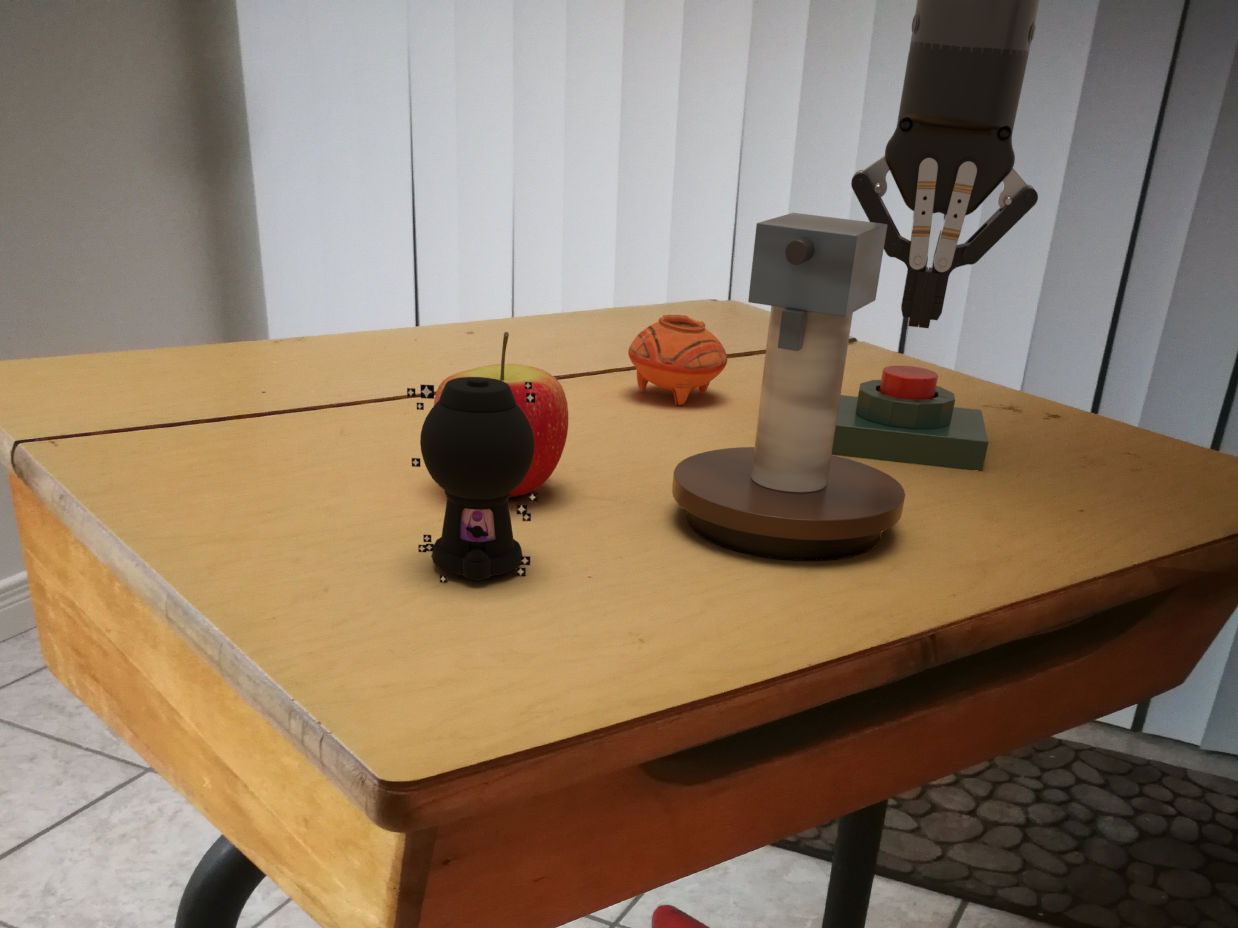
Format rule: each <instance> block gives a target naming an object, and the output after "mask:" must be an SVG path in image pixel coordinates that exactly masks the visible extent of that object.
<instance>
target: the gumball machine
mask: <svg viewBox="0 0 1238 928" xmlns="http://www.w3.org/2000/svg"><path fill="white" fill-rule="evenodd" d="M419 387H420V399H426V400H427V399H430V400H435V385H434V384H420V386H419ZM525 389H532V382H525ZM406 395H407V397H408V398H410V397H411V398H416V388H415V387H414V388H413V387H412V388H411V387H407V388H406ZM535 395H536V393H526V402H531V403H535ZM416 410H417V411H418V410H419V411H424V410H425V404H424V402H416ZM419 445H420V453H421V457H422V459H423V462H424V464H425V467H426V470H427V472H428V474H429V476H430V477H431V479H432V480H433V481H434V482H435V483H436V484H437V485H438V486H439V487H440V488H441V489H442V490H443V491H444V494H445V497H446V504H445V509H444V517H443V522H442V531H441V536H440V537H439V538H437V539H436V540H435V542H434V543H432V534H422V535H423V536H422V537H423V540H422V541H423V543H425V544H417V545H418V546H417V547H418V548H417V550H418V553H427V552H431V559H432V562H433V564H434V565H435V566H437V567H438V568H439V569H441V570H443V571H446V572H448V573H451V574H456V575H460V576H463V577H464V578H466V579H469V580H477V581H478V580H480V581H481V580H487V579H488V578H490V577H492V576H493V577H494V576H499V575H500V576H501V575H504V574H507V573H510V572H513V571H515V570H516V577H526V575H527V567H521V566H531V555H530V556H529V555H528V556H527V555H525V556H524V555H523V550H522V546H521V544H520V542H518V541H517V540H516V539H515V538H514V533H513V526H512V519H511V513H510V512H511V511H510V505H509V499H510V497H509V496H510V492H511V491H513V490H514V489H515V488H516V487H517V486H518V485H519V484H520V483H521V482H522V481H523V479H524V478H525V476H526V474H527V472H528V470H529V468H530V466H531V464H532V460H533V456H534V448H535V445H534V436H533V431H532V428H531V425H530V423H529V421H528V419H527V417H526V416H525V414H524V412H523V411H522V409H521V408H520V407H519V406H518V405H517V403H516V401H515V398H514V396H513V393H512V391H511V388H510V386H509V385H508V384H507V383H505V382H504V381H501V380H497V379H492V378H485V377H461V378H456V379H452V380H449V381H448V382H447V383H446V384H445V386H444V389H443V391H442V393H441V396H440V398H439V401H438V402H437V403H436V404H435V405H434V404H433V407H432V408H431V409H430V410H429V411H428V414H427V415H426V416H425V419H424V421H423V423H422V427H421V431H420V440H419ZM421 466H422V465H421V458H420V457H411V467H413V468H414V467H415V468H419V467H420V468H421ZM528 502H533V503H534V502H538V492H529V493H528ZM516 515H522V522H532V513H531V512H528V504H527V503H526V504H525V503H518V504H516ZM439 583H444V584H445V583H448V575H441V574H440V575H439Z"/></svg>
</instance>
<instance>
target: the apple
mask: <svg viewBox="0 0 1238 928" xmlns="http://www.w3.org/2000/svg"><path fill="white" fill-rule="evenodd" d="M509 335H510V334H509V331H505V332H503V339H502V347H501V348H502V350H501V358H500V359H501V363H498V364H490V365H484V366H480V367H475V368H470V369H467V370H462V371H459V372H456V373H454V374H450V375H449V376H447V377H446V378H445V379H443V380H442V381H441V382H440V384H439V386H438V387H437V390H436V393H435V395H434V399H433V400H434V402H433V406H434V405H435V404H436V403H437V402H438V401H439V398H440V396H441V393H442V391H443V389H444V386H445V384H446V383H447V382H448V381H449V380H452V379H456V378H461V377H485V378H492V379H497V380H501V381H504V382H505V383H507V384H508V385H509V386H510V388H511V391H512V393H513V396H514V398H515V401H516V403H517V405H518V406H519V407H520V408H521V409H522V411H523V412H524V414H525V416H526V417H527V419H528V421H529V423H530V425H531V428H532V431H533V436H534V445H535V448H534V456H533V460H532V464H531V466H530V468H529V470H528V472H527V474H526V476H525V478H524V479H523V481H522V482H521V483H520V484H519V485H518V486H517V487H516V488H515V489H514V490H513V491H511V492H510V496H509V498H514V497H519V496H523V495H526V494H529V493H532V492H534V491H535V490H538V489H539V488H540V487H542V486H543V485H544V484H545V483H546V482H547V481H548V480H549V479H550V477H551V476H552V474H553V473H554V472H555V470H556V468H557V466H558V464H559V462H560V460H561V458H562V454H563V452H564V449H565V446H566V442H567V438H568V431H569V408H568V407H569V406H568V400H567V396H566V393H565V390H564V387H563V386H562V384H561V382H560V381H559V380H558V379H557V377H555V376H554V375H552V374H551V373H550V372H548V371H547V370H544V369H541V368H539V367H535V366H532V365H527V364H519V363H505V362H506V352H507V346H508V342H509V341H508V340H509ZM525 382H532V389H525ZM526 393H536V395H535V403H531V402H526Z"/></svg>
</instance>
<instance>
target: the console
mask: <svg viewBox="0 0 1238 928" xmlns="http://www.w3.org/2000/svg"><path fill="white" fill-rule="evenodd" d="M880 383H881V379H871V380H867V381H864V382H861V383H859V387H858V392H857V393H858V394H857V396H852V395H843V394H841V395H840V402H839V408H838V415H837V422H836V428H835V435H834V441H833V448H832V455H834V456H838V457H847V458H848V457H849V458H856V459H857V458H858V459H865V460H866V459H867V460H875V461H884V462H894V463H902V464H910V465H911V464H912V465H919V466H920V465H921V466H931V467H938V468H947V469H956V470H964V469H966V470H965V471H973V470H978V471H977V472H983V469H984V465H985V461H986V456H987V451H988V447H989V438H988V433H987V429H986V424H985V420H984V416H983V411H982V409H976V408H967V407H957V406H955V403H956V397H955V393H954V392H952V391H950V390H948V389H946V388H944V387H942V386H939V385H936V390H935V396H934V398H933V399H918V400H914V399H905V398H897V397H893V396H889V395H885V394H882V393H880V392H879V389H880Z"/></svg>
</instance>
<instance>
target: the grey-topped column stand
mask: <svg viewBox="0 0 1238 928" xmlns="http://www.w3.org/2000/svg"><path fill="white" fill-rule="evenodd" d="M886 231H887V224H882V223H873V222H870V221H865V220H855V219H848V218H842V217H841V218H840V217H832V216H830V217H829V216H823V215H817V214H816V215H813V214H809V213H808V214H807V213H798V212H790V213H787V214H783V215H780V216H777V217H774V218H770V219H766V220H763V221H759V222H756V226H755V235H754V245H753V253H752V263H751V273H750V280H749V291H748V300H747V301H748V303H750V304H755V305H756V304H757V305H764V306H769V307H770V313H769V319H768V321H769V322H768V330H767V339H766V347H765V356H764V363H763V372H762V381H761V388H760V398H759V406H758V415H757V424H756V432H755V440H754V446H743V447H742V446H741V447H727V448H719V449H713V450H708V451H703V452H700V453H696V454H693V455H690V456H688V457H686V458H684V459H683V460H681V461H680V462H679V463H677V465H676V466H675V467H674V469H673V474H672V475H673V476H672V487H671V492H672V497H673V499H674V501H675V502H676V503H677V504H678V505H679V506H680V507H681V508H682V509H684V510H685V511H686V512H687V511H688V512H690V513H691V514H693V515H695V516H697V517H699V518H701V519H704V520H706V521H708V522H711V523H714V524H717V525H720V526H723V527H726V528H730V529H733V530H737V531H742V532H746V533H751V534H756V535H761V536H768V537H775V538H785V539H796V540H842V539H851V538H858V537H864V536H869V535H873V534H877V533H880V532H886V531H887V530H889V529H891V528H893V527H894V526H895V525H896V524H898V523H899V522H900V521H901V519H902V515H903V510H904V505H905V499H906V492H905V489H904V487H903V486H902V484H901V483H900V482H899V481H898V480H896V479H895V478H894V477H892V476H891V475H890V474H888V473H885V472H884V471H882V470H880V469H878V468H876V467H873V466H871V465H868V464H865V463H863V462H860V461H857V460H853V459H850V458H847V457H846V458H845V457H843V456H839V455H832V448H833V441H834V435H835V428H836V422H837V415H838V408H839V402H840V395H842V387H843V381H844V374H845V369H846V361H847V355H848V348H849V342H850V334H851V328H852V322H853V315H854V312H856V311H858V310H861V309H862V308H864V307H866V306H868V305H870V304H871V303H874V302H875V301H876V300H877V293H878V287H879V282H880V281H879V280H880V273H881V268H882V262H883V255H884V251H885V250H884V243H885V237H886Z"/></svg>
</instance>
